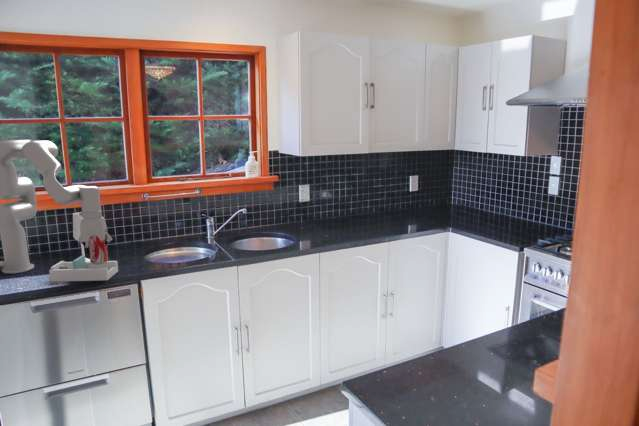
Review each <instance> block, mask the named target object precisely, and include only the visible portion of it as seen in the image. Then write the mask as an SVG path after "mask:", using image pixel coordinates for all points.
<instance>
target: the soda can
mask: <svg viewBox="0 0 639 426" xmlns="http://www.w3.org/2000/svg"><path fill="white" fill-rule="evenodd" d="M97 236H98V235H97ZM97 236H90V238H89V242H88V244H89V253H90V257H89V259H90V261H91V263H92V264H95V265H98V264H104V263H106V262H107V261H109V254H108V253H109V252H108V244H107V245H105V241H106V240H107V239H106V237H105V240H103V241H100V239H99V238H98V237H97Z"/></svg>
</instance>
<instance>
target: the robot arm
mask: <svg viewBox="0 0 639 426" xmlns="http://www.w3.org/2000/svg"><path fill="white" fill-rule="evenodd" d="M58 154H59V149H58V147H57V145H56V144H55V143H54V142H52V141H50V140H48V139H47V140H44V139H43V140H42V139H9V140H1V141H0V200H6V201H7V202H5V203H1V204H0V239H1V240H0V241H1V246H2V252H3V253H2V254H3V260H4V261H3V260H1V261H0V267H2V268H1V272H2V274H7V275H9V274H10V275H13V274H21V273H24V272H29V271H31V270H33V269H34V268H35V264H34V263H31V262H30V256H29V248H28V242H27V235H26V230H25V228H24V226H23V225H22V224H21V223H20V222H23V221H26V220H30V219H32V218H34V217H35V216H36V215H37V212H38V211H37V210H38V208H37V207H38V205H37V196H36V188H35V184H34V182H33V180H32V179H31V178H29V177H27V176H22V175H21V176H18V172H17V168H16V165H15V164H14V162H13V161H15V160H24V159H26V160H27V161H28V162H29V163H30V164H31V165H32V166H33V167H34V168H35V169H36V170H37V171H38V172H39V174H41V176H42V177H43V179H42V180H43V186H44V189H45V192H46V193H47V194H48V195H49V196H50V197H51V199H53V200H54V202H56V203H58V204H59V205H62V206H69V205H74V204H78V203H80V205H81V211H80V212H81V213H79V215H80V216H82V219H81V222H80V237H79V239H78V241H77V242H78V243H80V244H81V243H82V244H83V245H84V248H86V253H87V255H88V258H90V253H89V244H88V242H89V238H90V236H97V235H98V236H97V237H98V238H99V239H100V241H103V240H105V237H106V241H105V245H107V246H108V244H109V243H110V242H111V241H113V238H112V236H111V235H110V234H109V233H108V227H107V223H106V219H105V217H104V216H103V214H102V213H103V212H102V211H103V210H102V205H101V204H102V203H101V202H102V201H101V194H100V188H99V187H98V186H96V185H83V184H75V185H69V186H63V185H62V184H61V183H60V182H59V181H58V180H57V175H58V174H59V173H60V171H62V163H60V162H59V161H58V159H57V156H58ZM15 199H17V200H15ZM8 200H14V201H9V202H8Z"/></svg>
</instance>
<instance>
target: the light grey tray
mask: <svg viewBox="0 0 639 426" xmlns="http://www.w3.org/2000/svg"><path fill="white" fill-rule="evenodd" d="M118 272H119V265H118V260H108V261H107V262H106V263H104V264H98V265H95V264H92V263H91V261H88V262H86V269H73V262H72V261H65V260H60V261H58V262H57V263H56V264H54V265H52V266H51V267H50V269H49V270H48V273H49V281H50V282H51V283H52V282H53V283H54V282H59V283H60V282H91V281H92V282H93V281H96V282H98V281H99V282H100V281H109V280H110V279H111V278H112V277H113V276H115V275H116V274H117V273H118Z"/></svg>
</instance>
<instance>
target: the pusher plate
mask: <svg viewBox="0 0 639 426" xmlns="http://www.w3.org/2000/svg"><path fill="white" fill-rule="evenodd" d="M85 258H86V255H85V256H82V255H80V256H79V257H77V258H76V259H74V260H72V261H71V262H73V269H86V262H85Z"/></svg>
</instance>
